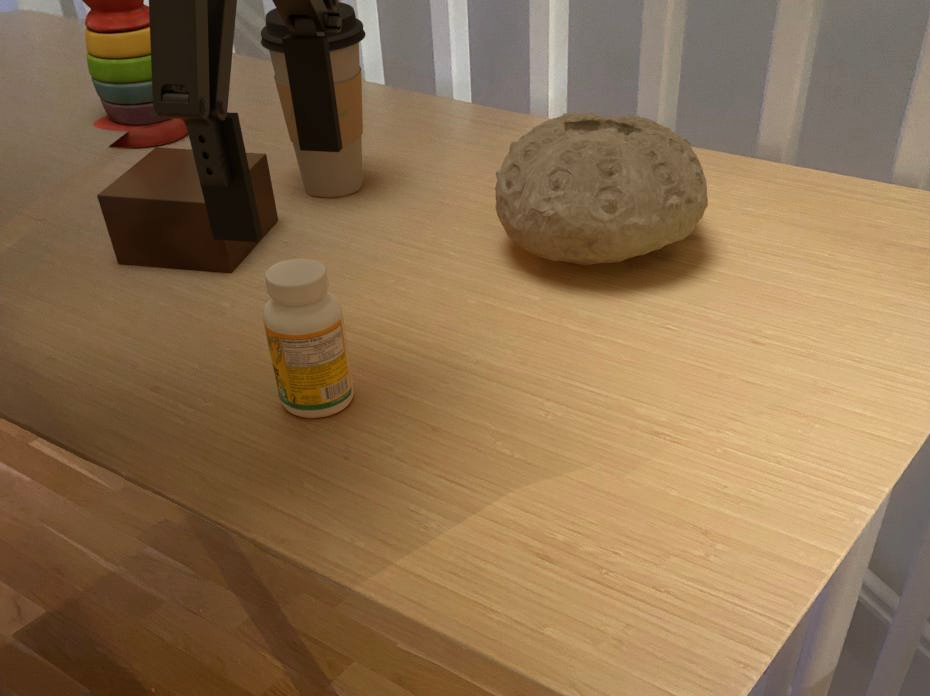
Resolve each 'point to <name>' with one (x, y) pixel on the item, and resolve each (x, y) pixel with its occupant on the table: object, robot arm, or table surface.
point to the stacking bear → (125, 73)
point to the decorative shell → (599, 188)
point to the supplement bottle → (307, 339)
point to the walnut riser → (176, 213)
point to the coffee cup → (342, 168)
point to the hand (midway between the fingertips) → (283, 191)
